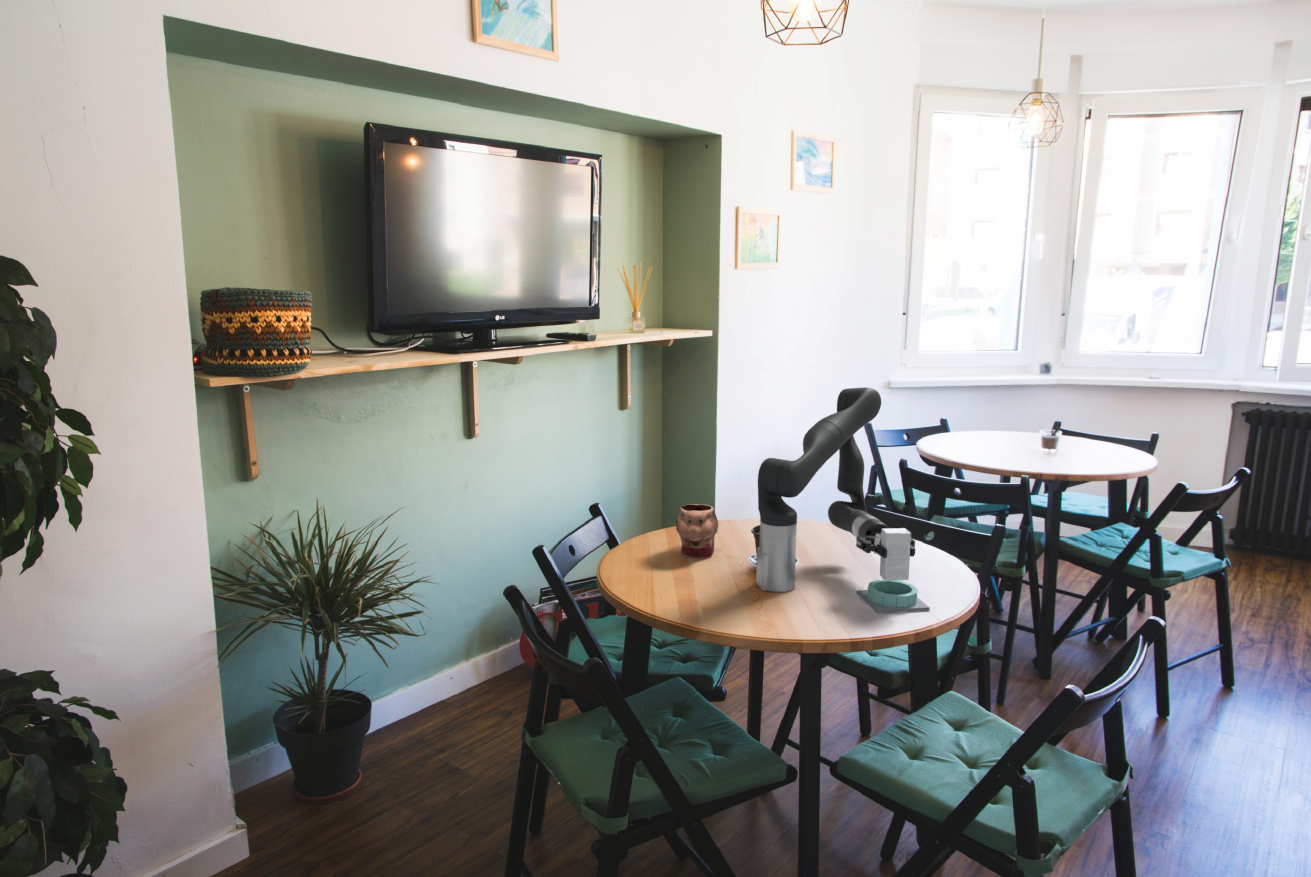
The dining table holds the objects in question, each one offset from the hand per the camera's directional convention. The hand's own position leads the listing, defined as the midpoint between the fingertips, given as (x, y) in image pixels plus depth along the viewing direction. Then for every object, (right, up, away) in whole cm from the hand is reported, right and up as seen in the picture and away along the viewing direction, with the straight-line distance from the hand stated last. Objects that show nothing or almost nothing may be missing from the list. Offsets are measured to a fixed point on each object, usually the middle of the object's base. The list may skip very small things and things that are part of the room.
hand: (899, 553), depth 192 cm
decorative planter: (-46, -6, +42) cm, 63 cm away
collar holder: (-1, -12, +4) cm, 13 cm away
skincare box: (0, -7, +4) cm, 8 cm away
